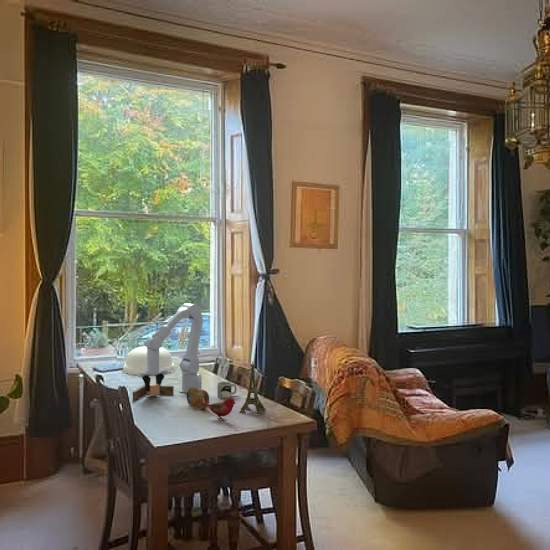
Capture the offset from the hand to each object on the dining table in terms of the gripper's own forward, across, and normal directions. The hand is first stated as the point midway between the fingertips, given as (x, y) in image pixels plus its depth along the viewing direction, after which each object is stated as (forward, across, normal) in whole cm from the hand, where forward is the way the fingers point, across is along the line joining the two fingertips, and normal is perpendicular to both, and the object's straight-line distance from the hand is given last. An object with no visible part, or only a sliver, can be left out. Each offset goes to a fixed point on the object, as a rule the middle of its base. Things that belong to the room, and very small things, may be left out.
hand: (152, 390), depth 267 cm
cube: (+2, 0, 0) cm, 2 cm away
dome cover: (+4, +26, +59) cm, 64 cm away
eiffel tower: (+3, +25, -47) cm, 54 cm away
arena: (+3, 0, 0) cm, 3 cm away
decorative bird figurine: (+3, +6, -50) cm, 50 cm away
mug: (+3, +30, -20) cm, 36 cm away
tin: (+3, +8, -28) cm, 30 cm away
